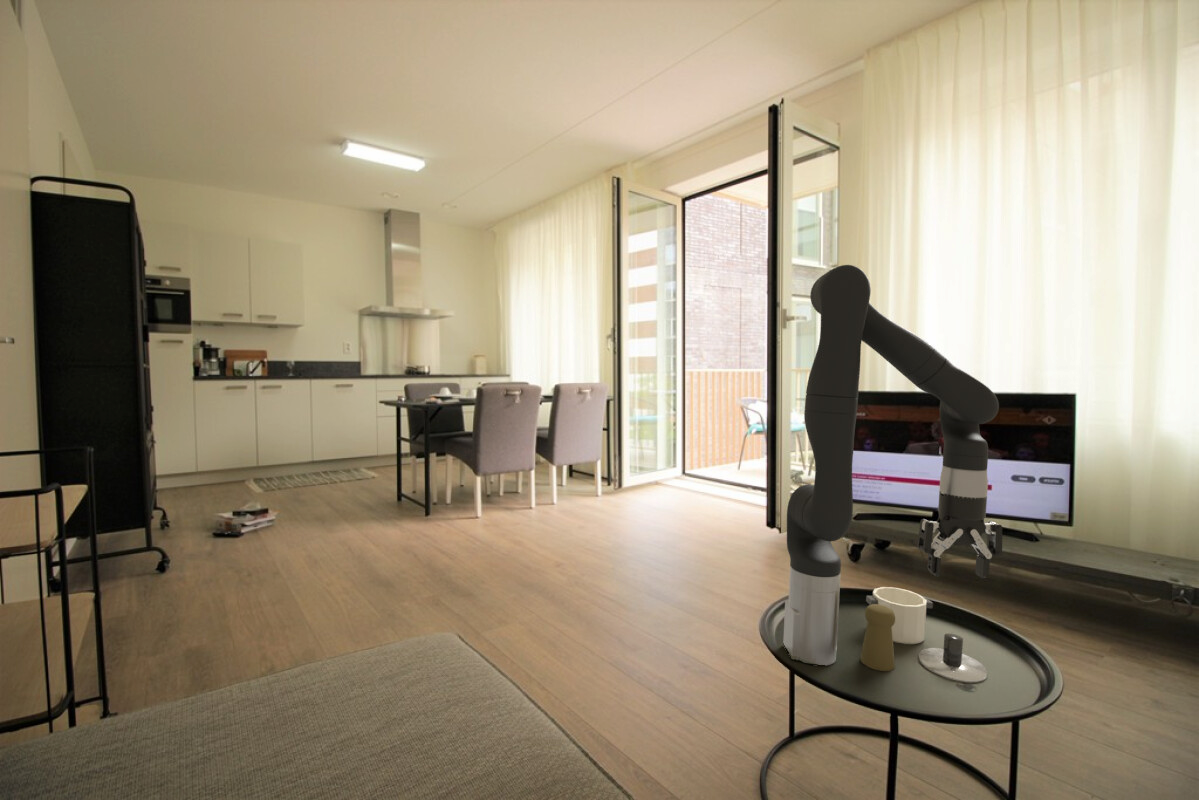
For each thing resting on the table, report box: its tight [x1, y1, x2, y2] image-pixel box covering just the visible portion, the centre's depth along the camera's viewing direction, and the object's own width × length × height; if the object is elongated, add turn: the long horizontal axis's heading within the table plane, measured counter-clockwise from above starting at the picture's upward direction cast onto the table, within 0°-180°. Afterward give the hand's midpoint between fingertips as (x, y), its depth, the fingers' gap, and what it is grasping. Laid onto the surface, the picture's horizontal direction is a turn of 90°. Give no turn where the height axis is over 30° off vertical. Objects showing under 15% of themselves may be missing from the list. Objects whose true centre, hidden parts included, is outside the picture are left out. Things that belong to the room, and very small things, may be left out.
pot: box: [865, 586, 934, 645], centre depth 119 cm, size 13×10×8 cm
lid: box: [918, 633, 988, 684], centre depth 106 cm, size 11×11×6 cm
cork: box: [859, 604, 896, 672], centre depth 107 cm, size 6×6×11 cm
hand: (957, 575), depth 105 cm, fingers open, 8 cm apart
